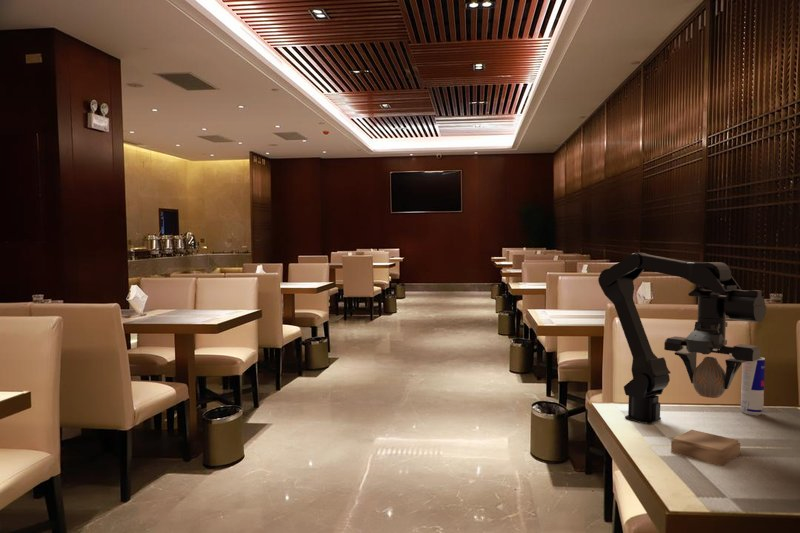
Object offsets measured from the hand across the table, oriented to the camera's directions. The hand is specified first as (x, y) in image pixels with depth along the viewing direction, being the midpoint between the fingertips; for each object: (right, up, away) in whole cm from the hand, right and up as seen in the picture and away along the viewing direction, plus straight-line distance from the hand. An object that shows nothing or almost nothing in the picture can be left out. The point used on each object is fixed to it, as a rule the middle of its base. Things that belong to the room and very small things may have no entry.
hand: (709, 386), depth 135 cm
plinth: (-6, -12, -11) cm, 17 cm away
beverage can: (+22, -12, +21) cm, 32 cm away
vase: (0, -2, 0) cm, 2 cm away
